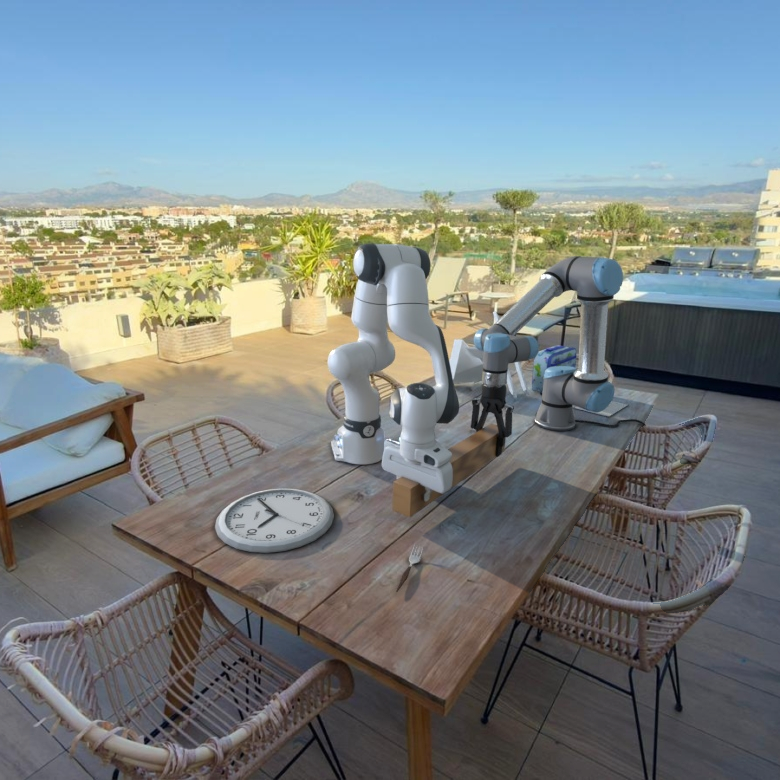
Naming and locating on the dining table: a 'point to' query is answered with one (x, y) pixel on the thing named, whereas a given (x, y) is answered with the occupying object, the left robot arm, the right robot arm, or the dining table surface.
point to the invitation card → (609, 408)
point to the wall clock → (274, 520)
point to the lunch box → (551, 363)
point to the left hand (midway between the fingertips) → (414, 495)
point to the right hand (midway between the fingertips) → (489, 452)
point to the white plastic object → (477, 365)
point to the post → (464, 463)
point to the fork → (413, 560)
